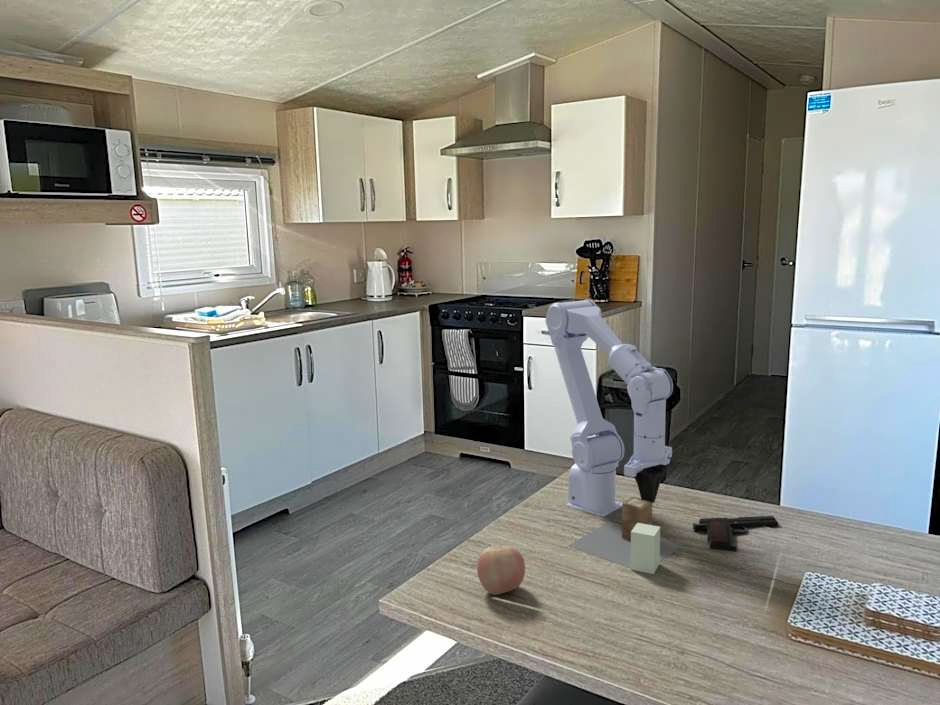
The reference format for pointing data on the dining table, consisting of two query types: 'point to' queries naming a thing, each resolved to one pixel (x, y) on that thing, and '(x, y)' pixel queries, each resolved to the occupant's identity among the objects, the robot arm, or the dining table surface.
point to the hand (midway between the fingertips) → (648, 501)
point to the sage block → (645, 548)
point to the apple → (500, 569)
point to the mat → (616, 544)
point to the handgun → (730, 529)
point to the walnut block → (635, 515)
